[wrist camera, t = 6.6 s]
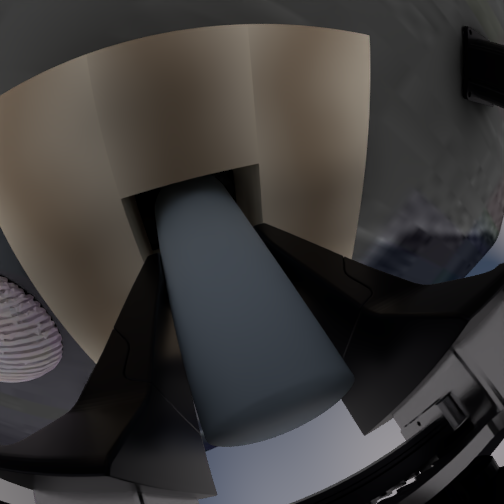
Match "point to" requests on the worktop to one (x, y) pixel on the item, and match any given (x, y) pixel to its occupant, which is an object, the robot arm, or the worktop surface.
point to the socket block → (178, 151)
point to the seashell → (25, 336)
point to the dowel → (240, 321)
